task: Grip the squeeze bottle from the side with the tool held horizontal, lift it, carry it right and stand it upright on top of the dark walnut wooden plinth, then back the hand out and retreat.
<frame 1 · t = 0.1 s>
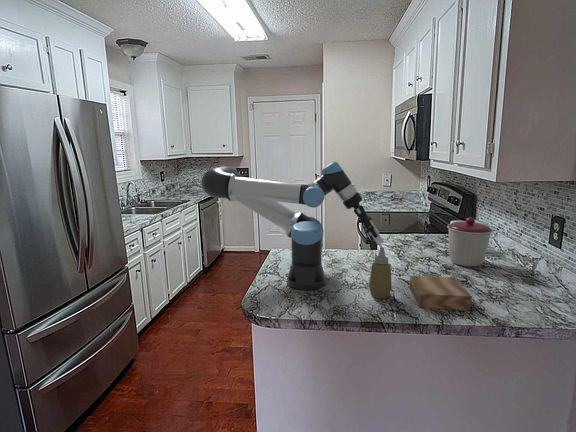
hand: (378, 238, 145), 15 cm above the countertop, tool tilted 35°, fingers open, 13 cm apart
foam cup: (458, 247, 183), on the countertop
squeeze bottle: (379, 296, 126), on the countertop
walnut plinth: (437, 298, 124), on the countertop
canister: (465, 263, 159), on the countertop
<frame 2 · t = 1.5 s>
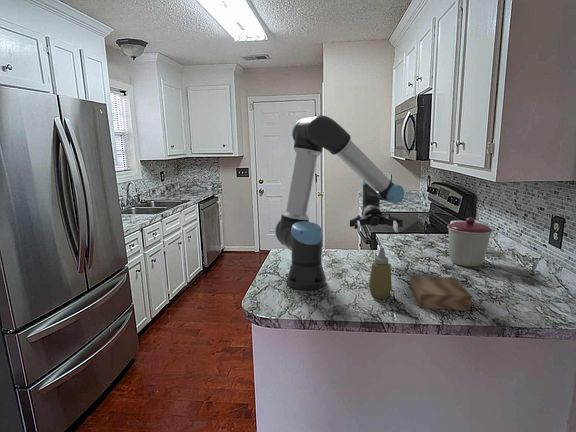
hand: (377, 228, 130), 23 cm above the countertop, tool horizontal, fingers open, 13 cm apart
nothing on the countertop moved.
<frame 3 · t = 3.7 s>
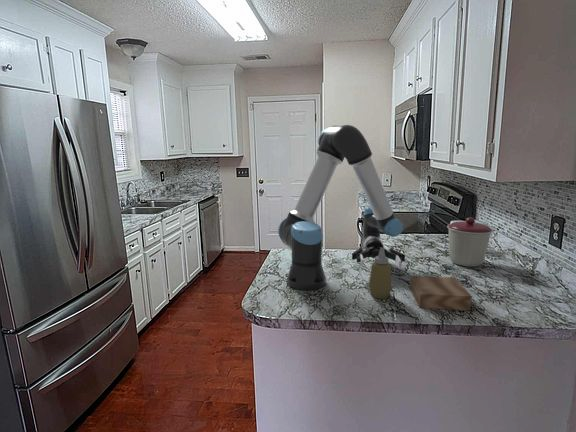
hand: (381, 264, 130), 10 cm above the countertop, tool horizontal, fingers open, 13 cm apart
nothing on the countertop moved.
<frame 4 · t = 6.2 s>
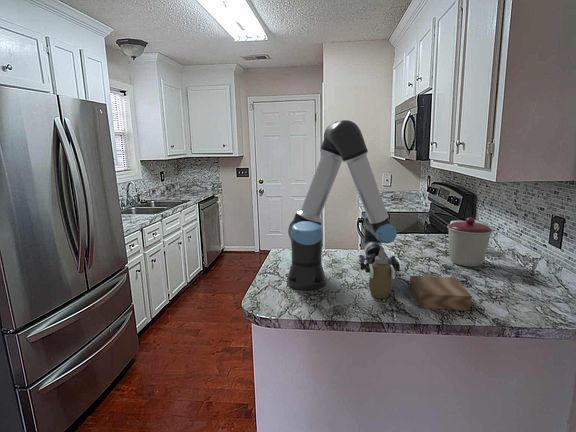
hand: (382, 274, 119), 10 cm above the countertop, tool horizontal, fingers closed on squeeze bottle, 6 cm apart
squeeze bottle: (379, 296, 126), on the countertop, touching gripper
everything else where it was.
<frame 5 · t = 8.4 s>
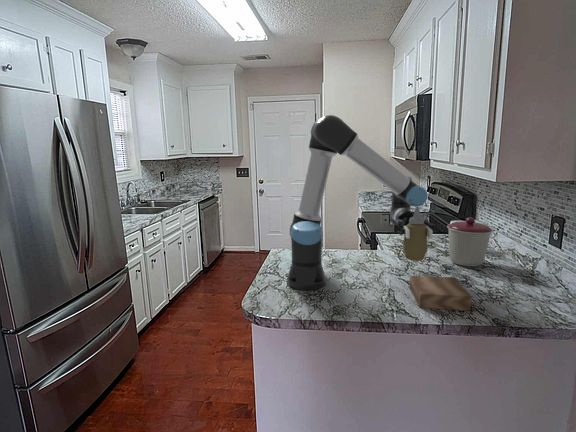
hand: (419, 234, 115), 24 cm above the countertop, tool horizontal, fingers closed on squeeze bottle, 6 cm apart
squeeze bottle: (414, 259, 123), point 14 cm above the countertop, touching gripper
everything else where it was.
when the fingers open (16 cm above the countertop, at t = 10.9 s): squeeze bottle drops 1 cm, resting on walnut plinth.
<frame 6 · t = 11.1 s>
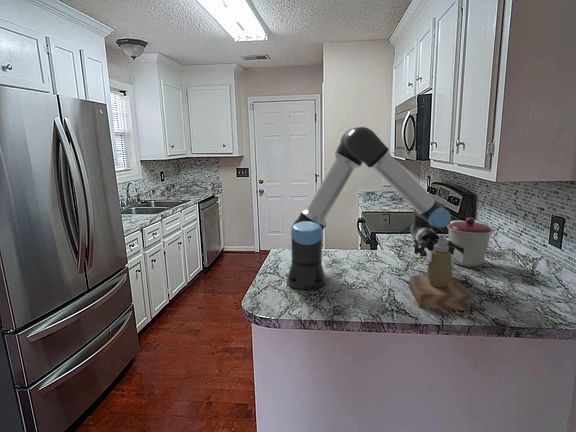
hand: (445, 258, 116), 16 cm above the countertop, tool horizontal, fingers open, 9 cm apart
squeeze bottle: (438, 285, 123), point 5 cm above the countertop, touching walnut plinth
everything else where it was.
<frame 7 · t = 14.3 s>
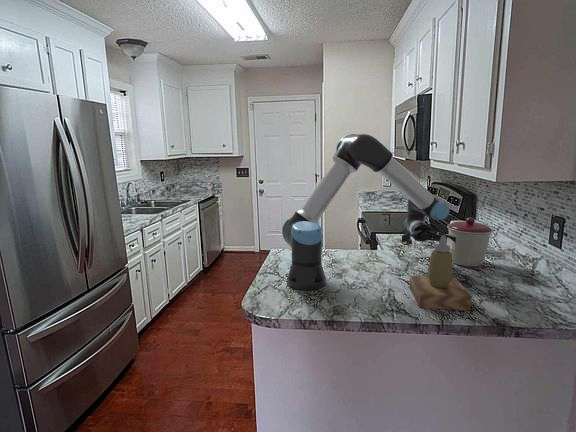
hand: (434, 245, 130), 17 cm above the countertop, tool horizontal, fingers open, 13 cm apart
nothing on the countertop moved.
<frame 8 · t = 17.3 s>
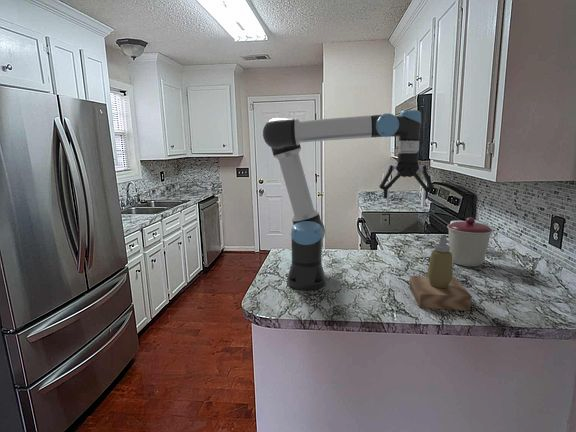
hand: (404, 206, 139), 29 cm above the countertop, tool pointing down, fingers open, 13 cm apart
nothing on the countertop moved.
at the end: squeeze bottle inside the target area on the walnut plinth (0.0 cm from its centre), point 4.8 cm above the walnut plinth's base; squeeze bottle tilted 0°; the gripper is holding nothing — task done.
